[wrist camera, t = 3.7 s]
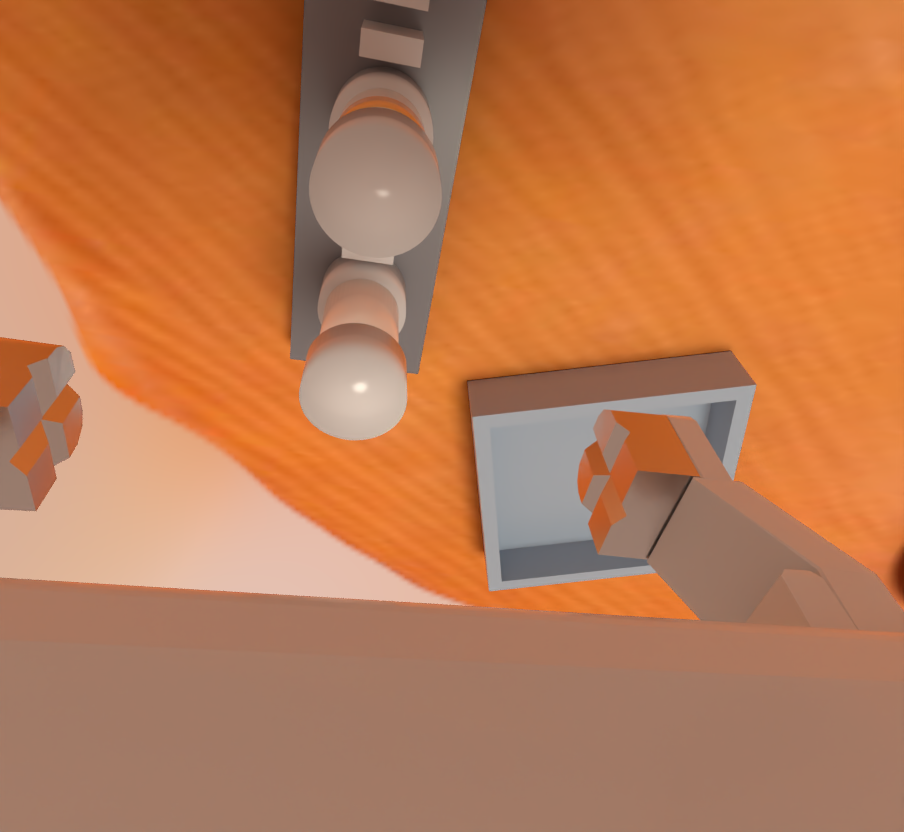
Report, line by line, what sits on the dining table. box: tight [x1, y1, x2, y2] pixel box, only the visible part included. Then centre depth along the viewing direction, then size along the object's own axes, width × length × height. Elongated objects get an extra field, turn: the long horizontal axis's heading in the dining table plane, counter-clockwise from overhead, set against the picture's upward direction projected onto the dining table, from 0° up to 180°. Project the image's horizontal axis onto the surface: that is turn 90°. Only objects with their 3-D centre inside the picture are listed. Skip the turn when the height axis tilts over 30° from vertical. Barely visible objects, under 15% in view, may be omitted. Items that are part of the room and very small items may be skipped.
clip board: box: [290, 0, 487, 374], centre depth 24 cm, size 22×6×4 cm, turn 169°
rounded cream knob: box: [299, 256, 407, 440], centre depth 25 cm, size 4×4×8 cm
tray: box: [467, 351, 756, 591], centre depth 36 cm, size 14×14×3 cm
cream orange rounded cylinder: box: [309, 66, 442, 258], centre depth 21 cm, size 4×4×8 cm
